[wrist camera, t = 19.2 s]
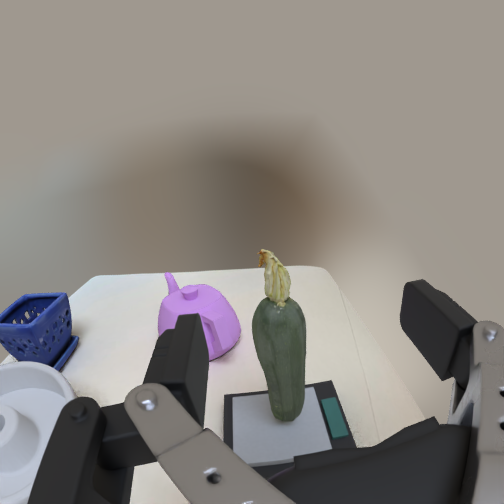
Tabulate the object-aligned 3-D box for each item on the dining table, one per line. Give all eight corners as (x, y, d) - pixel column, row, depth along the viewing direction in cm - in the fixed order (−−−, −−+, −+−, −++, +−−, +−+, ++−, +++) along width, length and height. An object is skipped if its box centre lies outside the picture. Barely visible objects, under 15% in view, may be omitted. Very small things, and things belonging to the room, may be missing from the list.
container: (-13, 417, 27) (-44, 373, 23) (101, 395, 37) (75, 344, 34) (-23, 537, 6) (-79, 495, 2) (136, 538, 16) (86, 505, 13)
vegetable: (312, 428, 27) (315, 254, 20) (275, 445, 25) (258, 270, 19) (292, 404, 31) (285, 239, 24) (258, 417, 29) (234, 250, 23)
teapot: (204, 308, 61) (195, 259, 57) (265, 351, 46) (259, 291, 42) (147, 332, 54) (132, 281, 50) (194, 390, 39) (175, 329, 35)
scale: (330, 392, 36) (332, 374, 35) (357, 469, 24) (362, 455, 22) (227, 406, 36) (222, 389, 34) (227, 488, 23) (221, 476, 22)
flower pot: (43, 339, 51) (23, 292, 47) (87, 341, 51) (67, 289, 47) (14, 376, 39) (-13, 324, 35) (60, 384, 39) (30, 327, 34)
